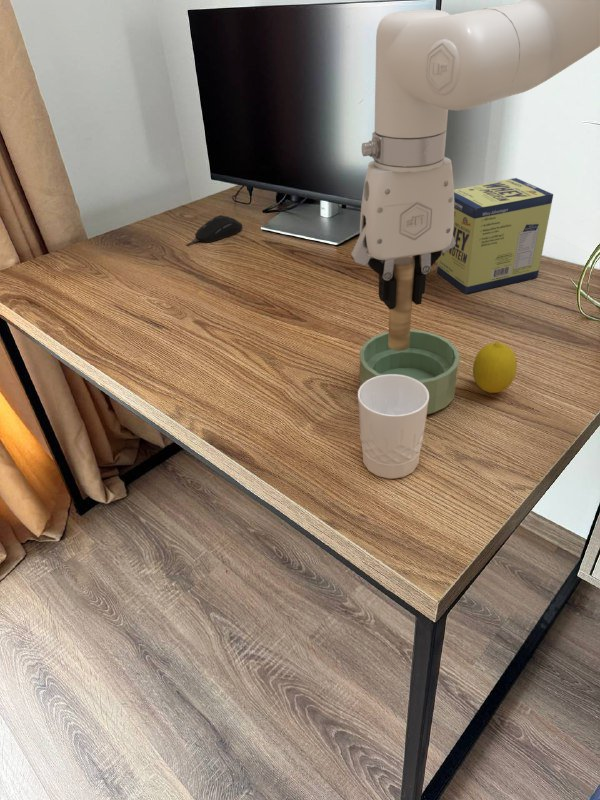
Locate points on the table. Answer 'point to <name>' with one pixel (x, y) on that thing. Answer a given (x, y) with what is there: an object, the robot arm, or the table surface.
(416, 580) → the table surface
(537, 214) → the protein box
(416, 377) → the bowl
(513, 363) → the lemon
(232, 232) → the gaming mouse
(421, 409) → the white cup
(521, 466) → the table surface
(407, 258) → the stick
